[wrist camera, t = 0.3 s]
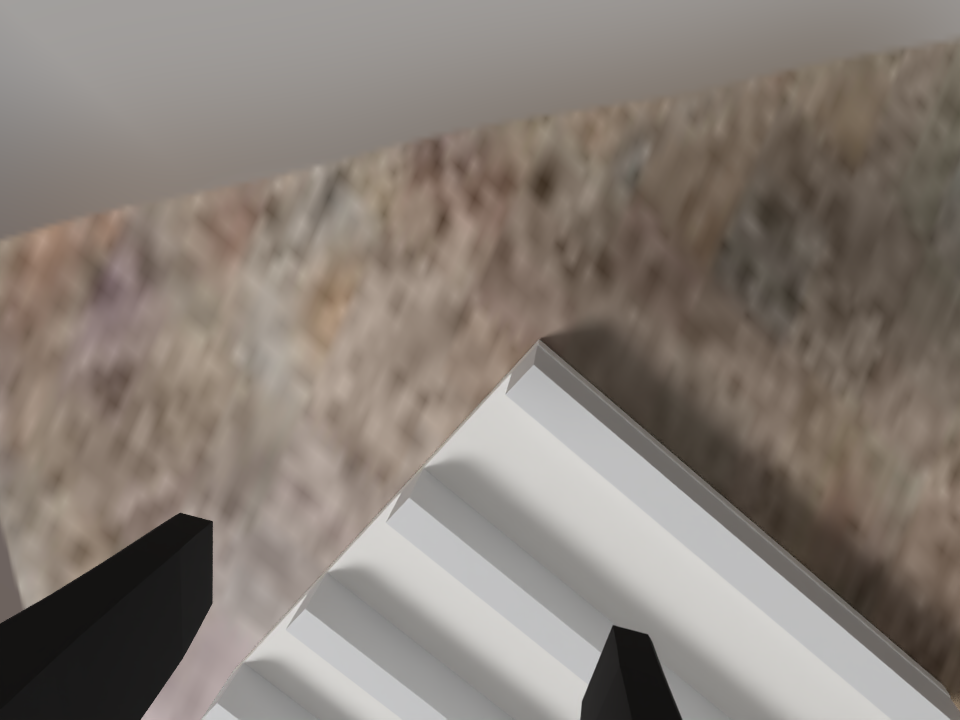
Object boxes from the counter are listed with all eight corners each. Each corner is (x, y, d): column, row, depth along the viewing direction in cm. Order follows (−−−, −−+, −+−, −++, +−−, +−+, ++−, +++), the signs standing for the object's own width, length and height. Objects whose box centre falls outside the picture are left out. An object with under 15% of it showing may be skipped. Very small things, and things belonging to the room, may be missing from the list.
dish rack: (571, 926, 28) (571, 997, 26) (233, 670, 26) (199, 721, 24) (943, 685, 22) (986, 748, 20) (539, 339, 20) (534, 363, 18)
